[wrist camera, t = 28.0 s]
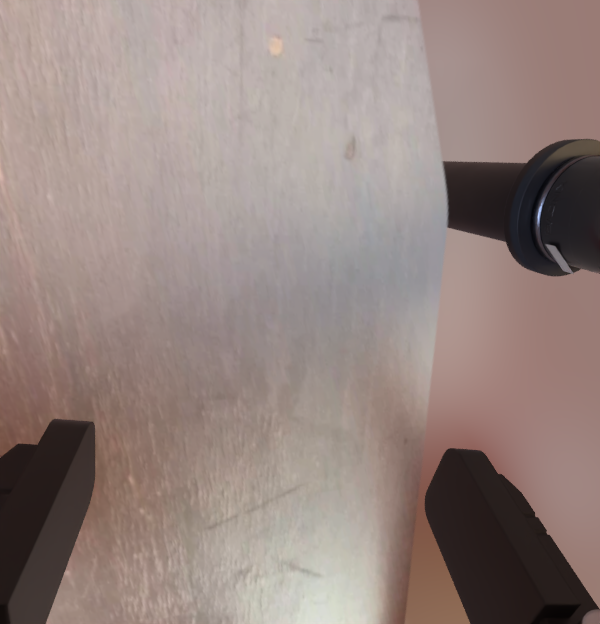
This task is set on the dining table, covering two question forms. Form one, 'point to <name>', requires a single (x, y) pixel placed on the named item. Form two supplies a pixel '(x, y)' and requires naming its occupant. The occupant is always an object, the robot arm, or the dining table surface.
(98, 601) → the dining table surface
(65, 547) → the robot arm
